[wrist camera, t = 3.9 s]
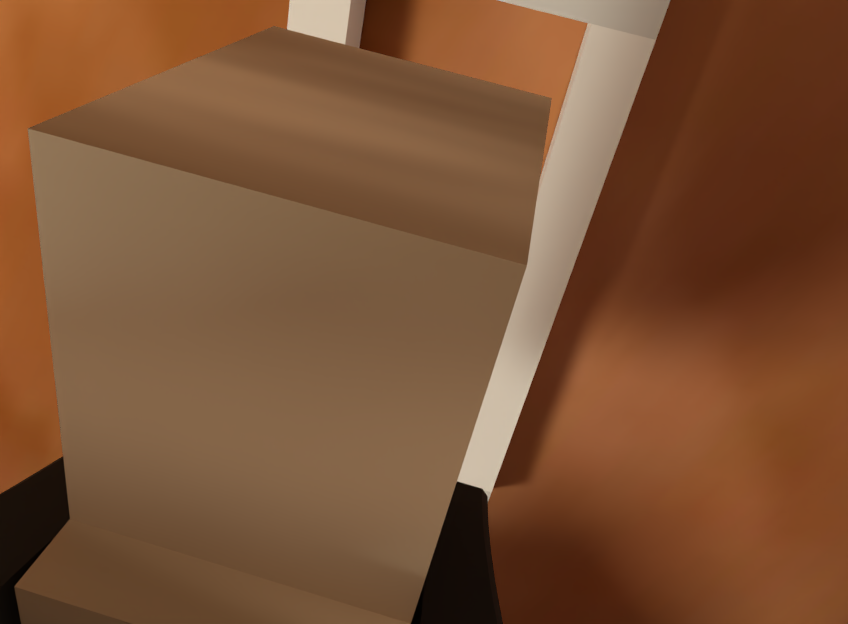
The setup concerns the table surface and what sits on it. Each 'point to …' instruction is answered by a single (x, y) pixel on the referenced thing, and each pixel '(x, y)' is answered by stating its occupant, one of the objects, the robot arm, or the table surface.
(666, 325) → the table surface
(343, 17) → the jig
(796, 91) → the table surface
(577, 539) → the table surface
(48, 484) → the robot arm
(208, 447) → the tan stepped block
